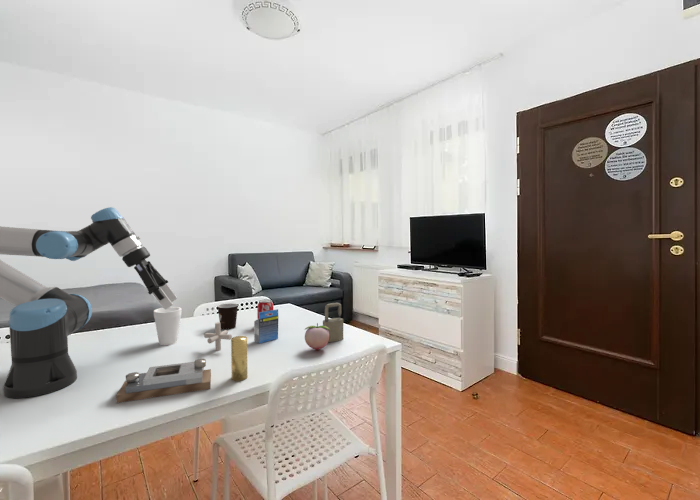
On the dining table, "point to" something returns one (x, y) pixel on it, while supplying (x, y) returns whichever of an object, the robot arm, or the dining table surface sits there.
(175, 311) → the foam cup
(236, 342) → the brass pin
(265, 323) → the label tape box
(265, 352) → the dining table surface
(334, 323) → the padlock
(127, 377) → the grey slotted fixture
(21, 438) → the dining table surface
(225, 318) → the coffee mug
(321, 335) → the decorative fruit
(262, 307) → the soda can
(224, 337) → the pipe connector
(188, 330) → the dining table surface
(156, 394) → the walnut board
